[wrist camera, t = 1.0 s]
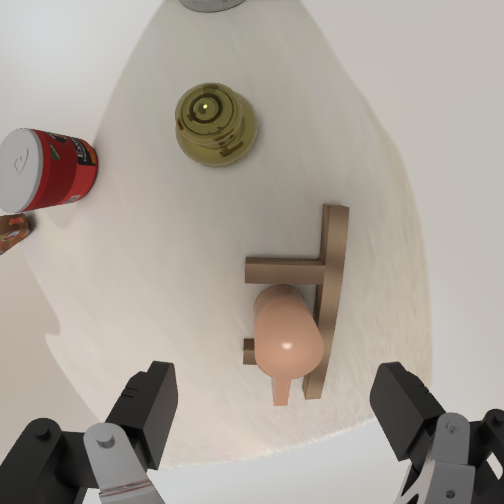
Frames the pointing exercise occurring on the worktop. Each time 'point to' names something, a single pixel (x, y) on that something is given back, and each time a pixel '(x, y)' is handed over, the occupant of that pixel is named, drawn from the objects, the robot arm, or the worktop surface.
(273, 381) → the tan paddle shape
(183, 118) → the brass doorknob
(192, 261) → the worktop surface
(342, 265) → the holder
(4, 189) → the canned food
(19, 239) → the tin
